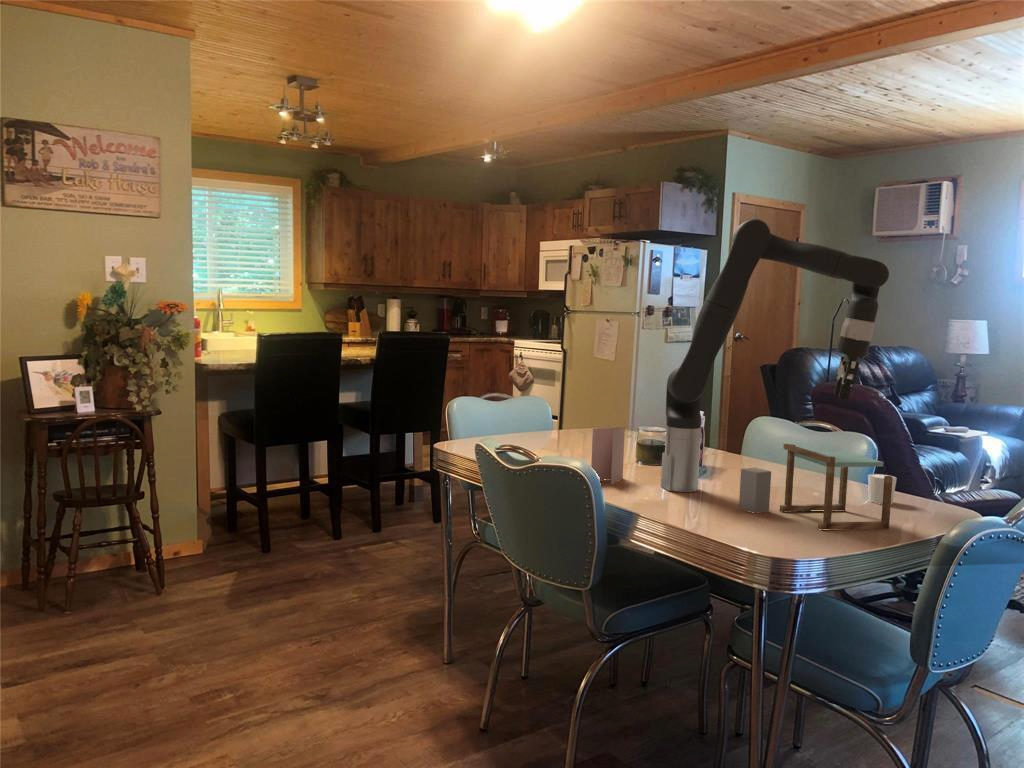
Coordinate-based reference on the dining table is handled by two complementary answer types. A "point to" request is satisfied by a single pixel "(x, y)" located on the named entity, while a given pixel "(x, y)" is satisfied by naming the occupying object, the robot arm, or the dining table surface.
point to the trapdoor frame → (829, 493)
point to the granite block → (755, 490)
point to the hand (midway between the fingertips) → (840, 397)
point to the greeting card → (608, 453)
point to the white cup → (878, 487)
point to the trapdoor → (845, 460)
